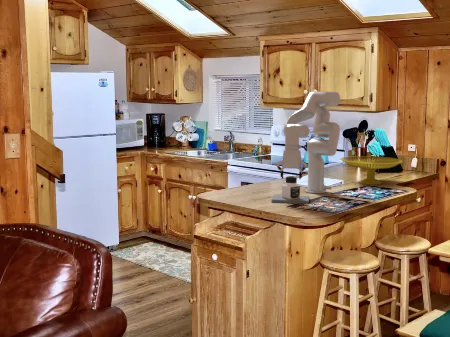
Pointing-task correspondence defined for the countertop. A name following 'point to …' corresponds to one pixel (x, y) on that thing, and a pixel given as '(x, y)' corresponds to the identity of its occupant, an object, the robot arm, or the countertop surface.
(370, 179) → the cake stand
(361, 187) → the countertop surface
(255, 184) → the countertop surface
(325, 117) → the robot arm
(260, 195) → the countertop surface
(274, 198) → the serving board
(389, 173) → the countertop surface
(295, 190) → the medicine bottle
